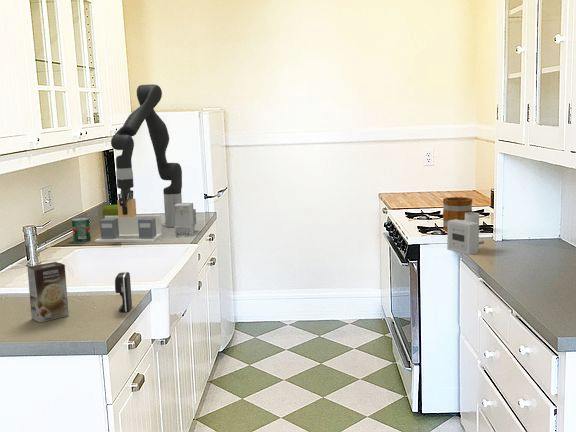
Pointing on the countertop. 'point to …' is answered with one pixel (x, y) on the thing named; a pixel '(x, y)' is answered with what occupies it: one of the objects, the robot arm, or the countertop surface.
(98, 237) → the rail
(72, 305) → the countertop surface
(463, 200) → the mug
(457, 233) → the thermostat
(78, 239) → the canned tomato
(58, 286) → the coffee box
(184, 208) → the circuit breaker
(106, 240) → the panel
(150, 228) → the block
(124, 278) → the battery charger
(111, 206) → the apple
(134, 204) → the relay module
